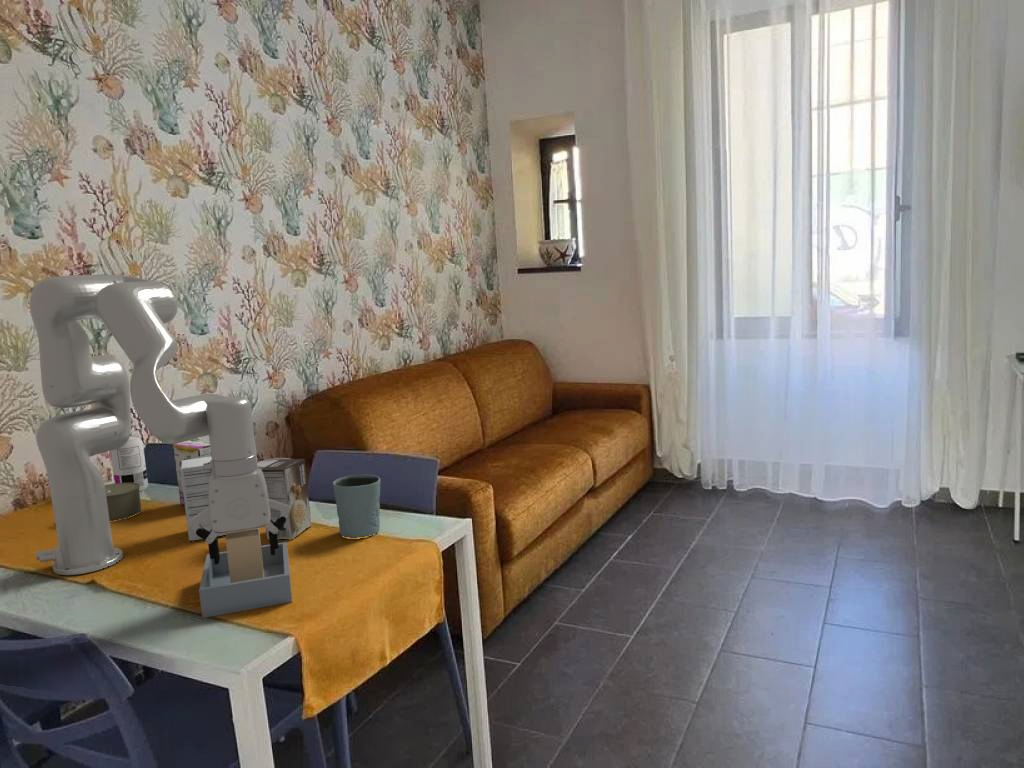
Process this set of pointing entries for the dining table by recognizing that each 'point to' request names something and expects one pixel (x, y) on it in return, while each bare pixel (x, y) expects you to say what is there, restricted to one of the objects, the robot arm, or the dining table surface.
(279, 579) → the tote
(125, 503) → the can
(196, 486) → the supplement box
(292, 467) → the coffee box
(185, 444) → the candy bar box
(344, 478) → the teal cup
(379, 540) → the dining table surface
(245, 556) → the carton
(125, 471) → the supplement can
